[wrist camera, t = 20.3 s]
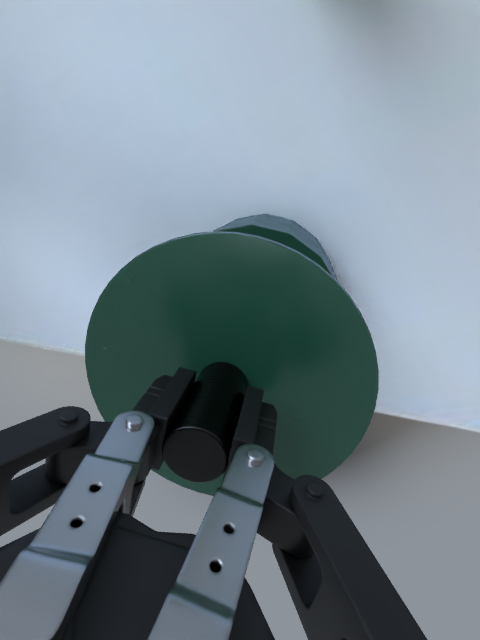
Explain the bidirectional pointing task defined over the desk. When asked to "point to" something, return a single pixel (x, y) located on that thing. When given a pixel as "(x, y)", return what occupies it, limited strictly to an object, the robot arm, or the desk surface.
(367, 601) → the robot arm
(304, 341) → the lid
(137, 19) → the desk surface
